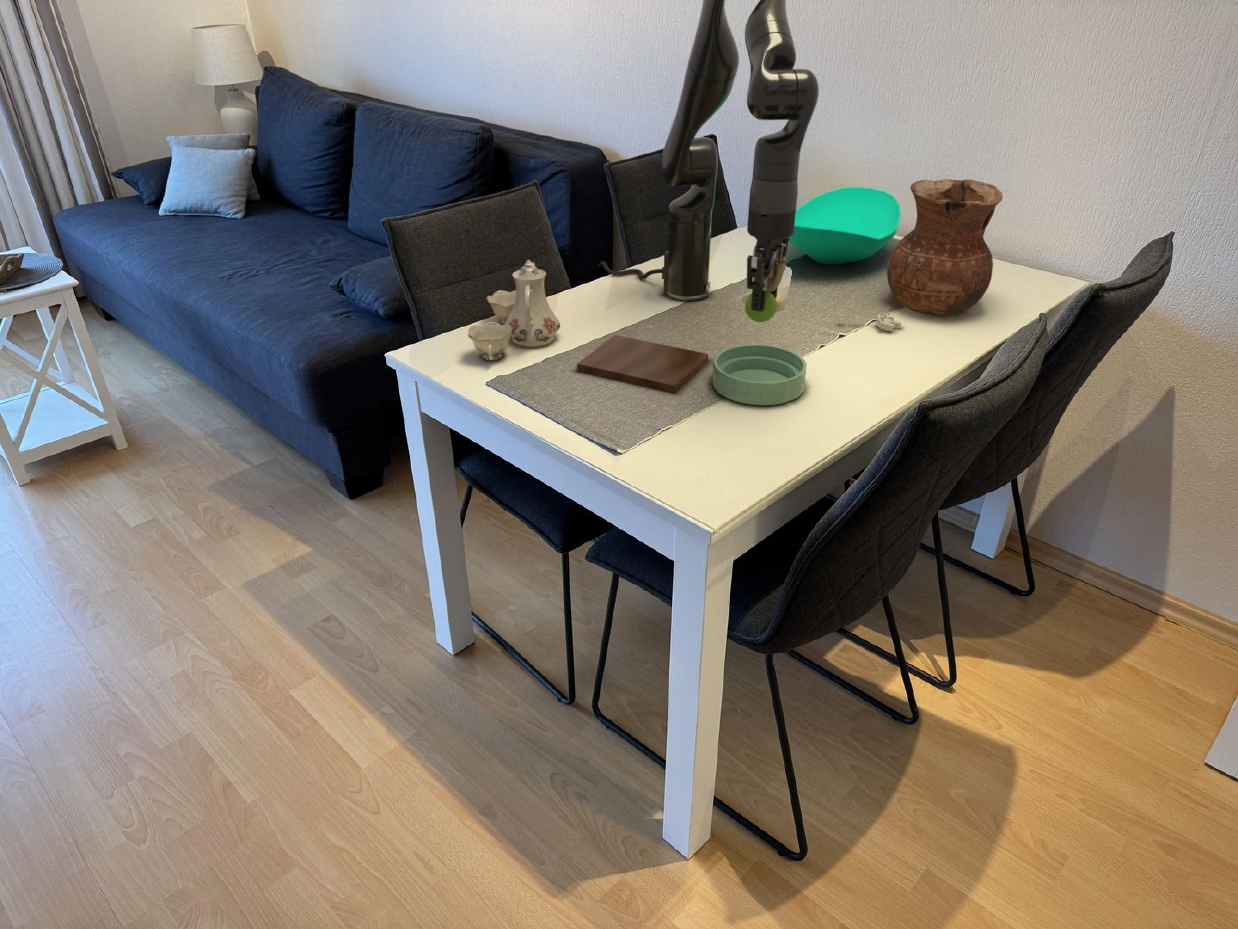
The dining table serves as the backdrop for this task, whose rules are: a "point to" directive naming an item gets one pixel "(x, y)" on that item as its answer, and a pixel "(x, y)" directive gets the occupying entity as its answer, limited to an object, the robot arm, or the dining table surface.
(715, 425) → the dining table surface
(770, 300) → the snail figurine
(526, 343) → the chinaware
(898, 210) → the table top decor
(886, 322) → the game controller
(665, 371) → the walnut board
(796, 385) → the bowl
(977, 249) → the jug
